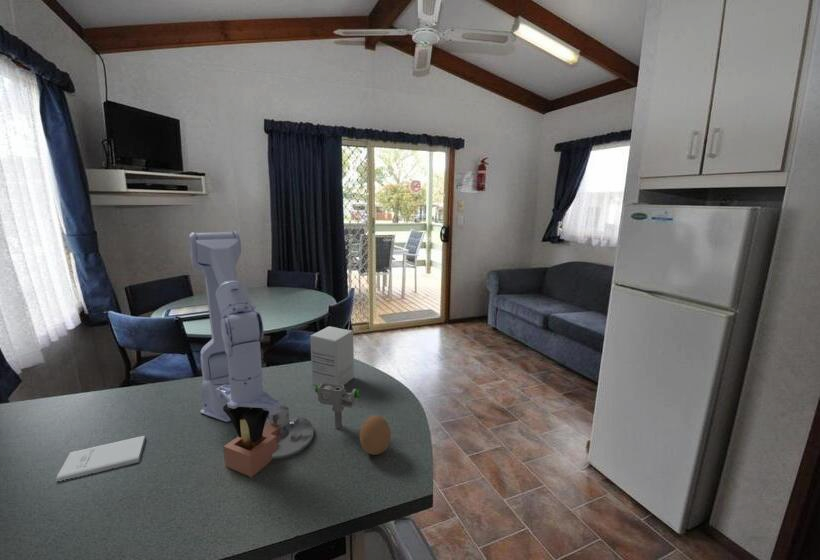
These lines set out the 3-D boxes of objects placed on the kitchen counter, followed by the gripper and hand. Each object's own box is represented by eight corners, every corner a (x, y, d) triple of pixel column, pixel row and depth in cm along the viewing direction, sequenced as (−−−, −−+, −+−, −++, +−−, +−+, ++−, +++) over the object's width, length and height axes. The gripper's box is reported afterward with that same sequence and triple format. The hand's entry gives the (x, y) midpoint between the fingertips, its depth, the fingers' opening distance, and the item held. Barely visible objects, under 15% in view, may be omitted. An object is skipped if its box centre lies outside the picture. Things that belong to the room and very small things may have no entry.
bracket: (225, 466, 72) (223, 446, 72) (263, 437, 81) (262, 419, 80) (251, 477, 70) (250, 456, 69) (288, 446, 79) (287, 427, 78)
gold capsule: (239, 449, 73) (236, 418, 71) (251, 442, 75) (249, 411, 74) (248, 454, 71) (245, 422, 70) (260, 446, 74) (258, 415, 72)
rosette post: (230, 448, 78) (228, 419, 76) (278, 414, 90) (277, 388, 89) (282, 468, 72) (281, 437, 71) (325, 429, 85) (325, 402, 84)
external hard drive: (139, 464, 73) (57, 485, 68) (146, 441, 80) (71, 457, 75) (138, 457, 73) (55, 477, 67) (145, 434, 80) (70, 450, 74)
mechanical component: (356, 433, 84) (356, 393, 82) (314, 427, 86) (313, 387, 84) (361, 426, 86) (361, 387, 84) (320, 420, 88) (319, 381, 86)
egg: (383, 465, 74) (383, 429, 72) (354, 458, 76) (354, 422, 74) (394, 446, 80) (395, 411, 78) (367, 439, 82) (367, 405, 80)
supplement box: (329, 371, 113) (328, 325, 110) (354, 377, 110) (354, 330, 107) (310, 384, 105) (309, 335, 102) (337, 391, 102) (336, 340, 99)
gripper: (200, 374, 69) (206, 438, 72) (258, 391, 64) (263, 460, 67) (231, 360, 76) (236, 419, 79) (286, 374, 70) (290, 438, 73)
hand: (250, 437), depth 73 cm, fingers open, 3 cm apart
